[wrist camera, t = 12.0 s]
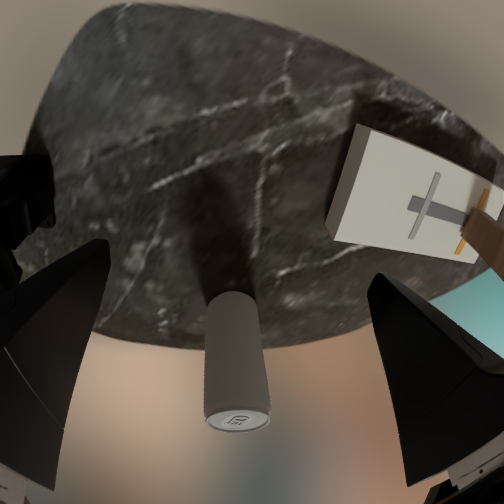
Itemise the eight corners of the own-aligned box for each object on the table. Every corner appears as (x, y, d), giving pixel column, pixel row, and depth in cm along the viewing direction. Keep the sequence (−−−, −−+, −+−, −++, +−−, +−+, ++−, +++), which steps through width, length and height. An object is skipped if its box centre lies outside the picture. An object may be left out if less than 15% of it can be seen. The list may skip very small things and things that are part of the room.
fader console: (324, 224, 24) (334, 241, 21) (356, 123, 19) (372, 130, 17) (461, 250, 27) (474, 264, 24) (493, 183, 22) (508, 193, 20)
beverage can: (200, 316, 28) (195, 429, 18) (217, 281, 26) (217, 404, 16) (245, 327, 30) (254, 436, 20) (265, 295, 27) (285, 413, 18)
